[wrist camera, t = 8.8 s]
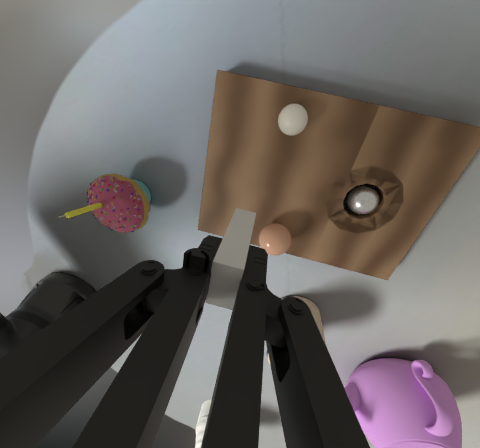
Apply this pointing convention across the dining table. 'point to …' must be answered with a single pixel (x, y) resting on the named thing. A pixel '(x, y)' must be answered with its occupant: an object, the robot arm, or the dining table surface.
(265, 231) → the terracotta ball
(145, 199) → the cupcake
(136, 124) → the dining table surface
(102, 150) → the dining table surface
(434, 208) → the wooden board
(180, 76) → the dining table surface
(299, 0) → the dining table surface
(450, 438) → the teapot
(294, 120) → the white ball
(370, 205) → the steel ball
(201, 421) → the honey pot
